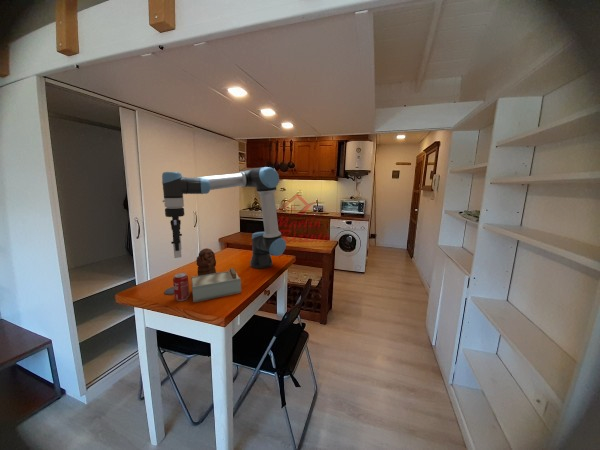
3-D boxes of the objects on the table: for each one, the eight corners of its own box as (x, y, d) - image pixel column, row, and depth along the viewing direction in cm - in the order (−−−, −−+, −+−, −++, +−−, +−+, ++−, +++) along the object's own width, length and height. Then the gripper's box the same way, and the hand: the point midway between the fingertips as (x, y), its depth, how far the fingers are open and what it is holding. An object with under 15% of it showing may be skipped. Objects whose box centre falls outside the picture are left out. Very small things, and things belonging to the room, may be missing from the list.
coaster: (184, 285, 120) (184, 284, 120) (184, 292, 112) (184, 291, 112) (165, 288, 116) (164, 288, 116) (163, 296, 108) (163, 295, 108)
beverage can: (178, 295, 109) (176, 272, 107) (191, 295, 110) (190, 272, 108) (172, 302, 103) (170, 277, 101) (186, 301, 103) (184, 277, 101)
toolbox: (235, 282, 124) (235, 269, 123) (241, 292, 113) (240, 278, 112) (192, 291, 114) (191, 277, 113) (193, 302, 103) (192, 287, 101)
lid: (235, 272, 122) (234, 266, 122) (239, 280, 112) (239, 273, 112) (192, 279, 112) (191, 273, 112) (193, 288, 102) (192, 281, 102)
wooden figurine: (206, 283, 124) (204, 252, 121) (196, 281, 125) (194, 251, 122) (218, 275, 135) (217, 246, 132) (209, 274, 136) (207, 245, 133)
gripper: (166, 205, 108) (170, 247, 112) (162, 210, 86) (167, 262, 90) (183, 205, 112) (186, 246, 115) (184, 209, 90) (187, 260, 93)
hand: (178, 253), depth 103 cm, fingers open, 13 cm apart
